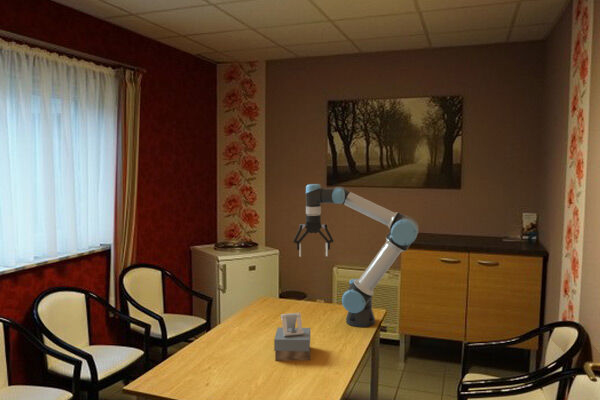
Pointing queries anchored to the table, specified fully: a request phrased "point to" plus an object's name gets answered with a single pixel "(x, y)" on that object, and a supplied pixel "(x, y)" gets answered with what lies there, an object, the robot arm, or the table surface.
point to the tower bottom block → (292, 355)
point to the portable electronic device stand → (291, 324)
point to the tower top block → (292, 340)
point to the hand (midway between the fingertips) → (313, 256)
